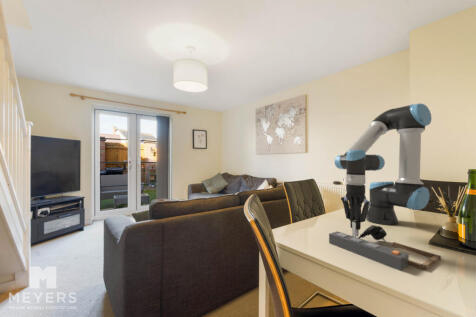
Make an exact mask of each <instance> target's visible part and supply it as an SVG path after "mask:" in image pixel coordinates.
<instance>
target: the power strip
mask: <svg viewBox="0 0 476 317" xmlns="http://www.w3.org/2000/svg"><path fill="white" fill-rule="evenodd" d="M328 236H329V237H328V242H329V244H331V245H334V246H336V247H338V248H341V249H343V250H346V251H348V252H352V253H354V254H357V255H359V256H361V257H363V258H366V259H370V260H372V261H375V262H377V263H379V264H382V265H384V266H387V267H390V268H391V269H394V270H398V271H403V270H404V269H405V268H408V267H409V260H410V259H409V253H406V252H402V251H399V250H396V249H394V248H390V247H387V246H384V245H383V244H382V245H381V244H379V243H376V242H372V241H369V240H366V239H363V238H358V236H357V237H354V236H352V234H351V235H350V234H347V233H344V232H341V231H338V230H336V231H334V232H331V233H328Z"/></svg>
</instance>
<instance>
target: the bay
mask: <svg viewBox="0 0 476 317" xmlns="http://www.w3.org/2000/svg"><path fill="white" fill-rule="evenodd" d="M392 247H394V248H397V249H399V250H400V249H401V250H405V251H407V252H411V253H414V254H418V255H419V256H420V255H422V256H424V257H427V258H428V259H427V260H425V261H424V262H423V263H420V262H418V261H414V260H411V259H409V266H410V267H413V268H416V269H418V270H421V271H424V272H425V271H427V270H428V269H430V268H431V267H432V266H434V265H435V264H437V262H439V261H440V260H442V256H441V255H439V254H435V253H432V252H428V251H426V250H422V249H418V248H416V247H413V246H408V245H406V244H402V243H399V242H396V241H395V242H392ZM409 266H408V267H409Z"/></svg>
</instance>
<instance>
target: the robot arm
mask: <svg viewBox="0 0 476 317" xmlns="http://www.w3.org/2000/svg"><path fill="white" fill-rule="evenodd" d="M431 122H432V114H431V110H430V109H429V107H428V106H427V105H426V104H425V103H412V104H408V105H404V106H401V107H399V106H398V107H395V108H390V109H387V110H385V111H384V112H383V111H382V112H381V113H380V114H379V115H377V116H376V117H375V118H374V119H373V120H372V121H371V122H370V123H369V125H368V128H367V129H366V130H365V131H364V132H363V134H362V135H361V136H360V137H359V138H358V139H357V140H356V141H355V142H354V143H353V144H352V145H351V147H349V148H348V150H346V152H345V153H344V154H340V155H337V156H336V157H335V159H334V165H335V168H337V169H340V170H346V173H345V175H346V176H345V178H346V180H345V181H346V183H347V184H345V185H346V186H345V188H346V189H345V192H346V194H345V196H342V197H340V200H341V202H342V204H343V209H344V214H345V217H346V219H347V220H349V221H350V229H351V236H354V237H357V238H358V237H360V233H359V230H361V228H362V227H361V223H363V222H366V221H368V222H371V223H375V224H379V225H385V226H386V225H387V226H396V225H398V224H399V222H398V221H399V219H398V216H397V214H396V211H395V207H399V208H405V209H408V210H419V211H420V210H423V209H424V208H425V207H427V205H428V203H429V201H430V195H431V194H430V192H429V188H427V187H425V185H424V182H423V181H422V180H420V179H421V152H422V150H421V149H422V146H421V144H422V133H423V132H425V130H426V127H427V126H429V125H431ZM392 130H395V131H396V132H397V133H398V134H399V153H398V154H399V156H398V157H399V158H398V178H397V179H396V180H395V181H373V182H371V183H370V184H369V188H368V190H369V200H368V199H367V197H366V185H365V184H366V171H367V172H368V171H371V172H372V171H373V172H374V171H380V170H382V169H383V168H384V167H385V159H384V157H383V156H382V155H381V154H366V153H367V152H368V150H370V148H371V147H373V145H375V143H376V142H377V141H378V140H379V139H380V138H381V136H383V135H385V134H386V133H387V132H389V131H392Z"/></svg>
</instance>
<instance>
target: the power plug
mask: <svg viewBox="0 0 476 317" xmlns="http://www.w3.org/2000/svg"><path fill="white" fill-rule="evenodd" d="M387 235H388V233H387V231H385V229H384V228H383V227H382V226H380V225H373V224H372V225H370V226H368V227H367V228H366V229H364V230H363V232H362V233H359V236H357V238H360V239H363V238H365V237H368V236H372V238H373V240H375V241H380V240H381V241H383V242H384V243H387V240H386V239H385V238H386V236H387Z"/></svg>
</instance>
